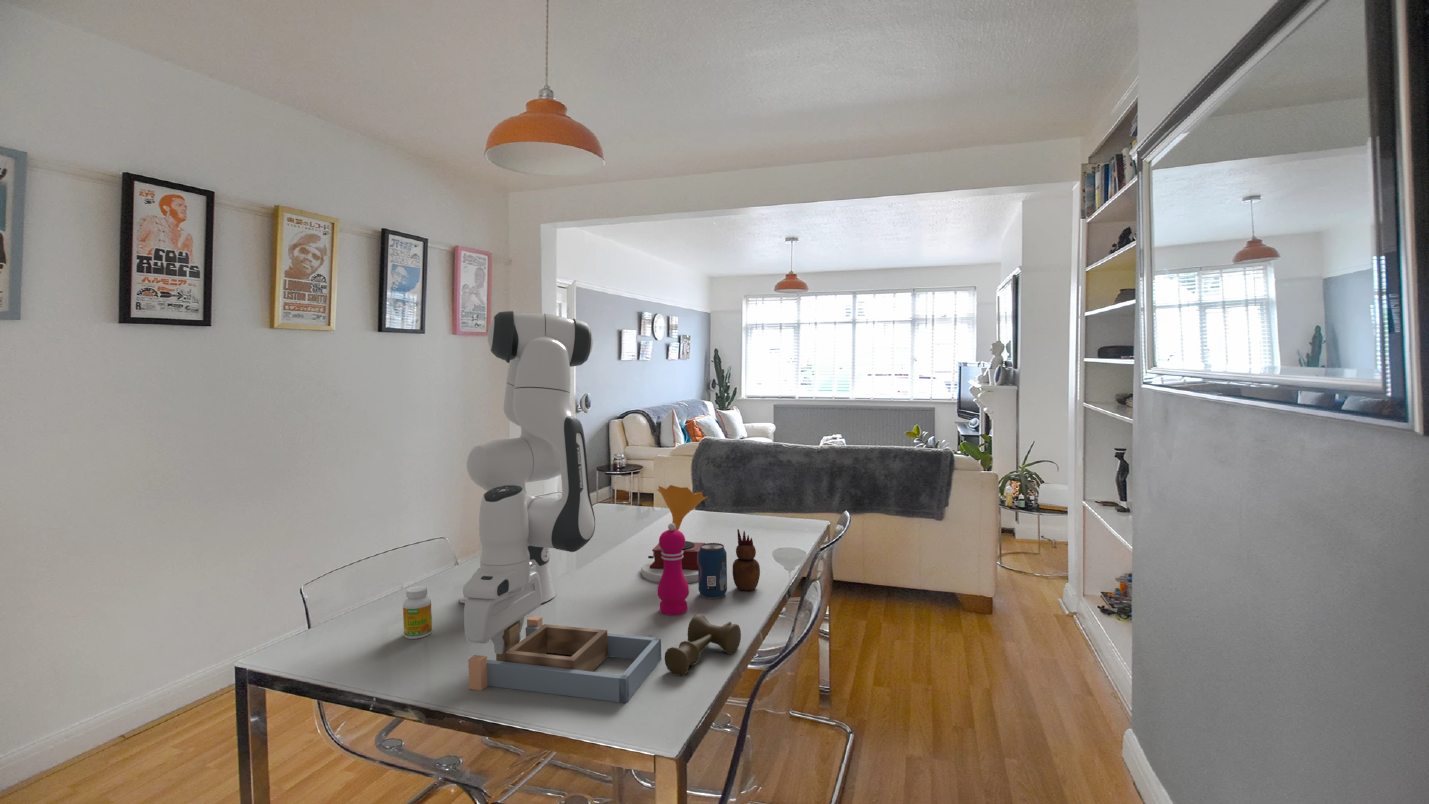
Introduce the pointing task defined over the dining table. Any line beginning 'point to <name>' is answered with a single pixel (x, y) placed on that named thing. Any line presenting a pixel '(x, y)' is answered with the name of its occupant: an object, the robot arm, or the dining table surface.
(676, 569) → the pepper mill
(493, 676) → the frame
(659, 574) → the gramophone
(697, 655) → the kendama
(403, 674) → the dining table surface
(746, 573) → the wooden figurine
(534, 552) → the robot arm
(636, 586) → the dining table surface
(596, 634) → the wooden square frame
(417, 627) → the supplement bottle
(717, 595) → the soda can
